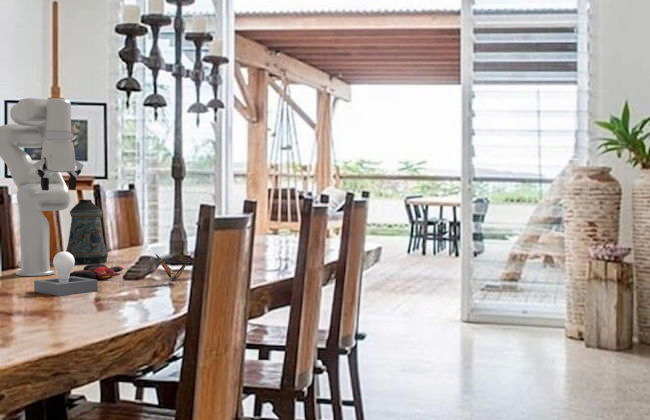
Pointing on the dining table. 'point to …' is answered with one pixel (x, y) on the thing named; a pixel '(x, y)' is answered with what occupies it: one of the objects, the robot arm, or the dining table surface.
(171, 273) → the butterfly
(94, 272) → the toy motorcycle
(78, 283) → the socket tray
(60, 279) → the lightbulb
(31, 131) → the robot arm
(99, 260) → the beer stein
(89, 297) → the dining table surface
